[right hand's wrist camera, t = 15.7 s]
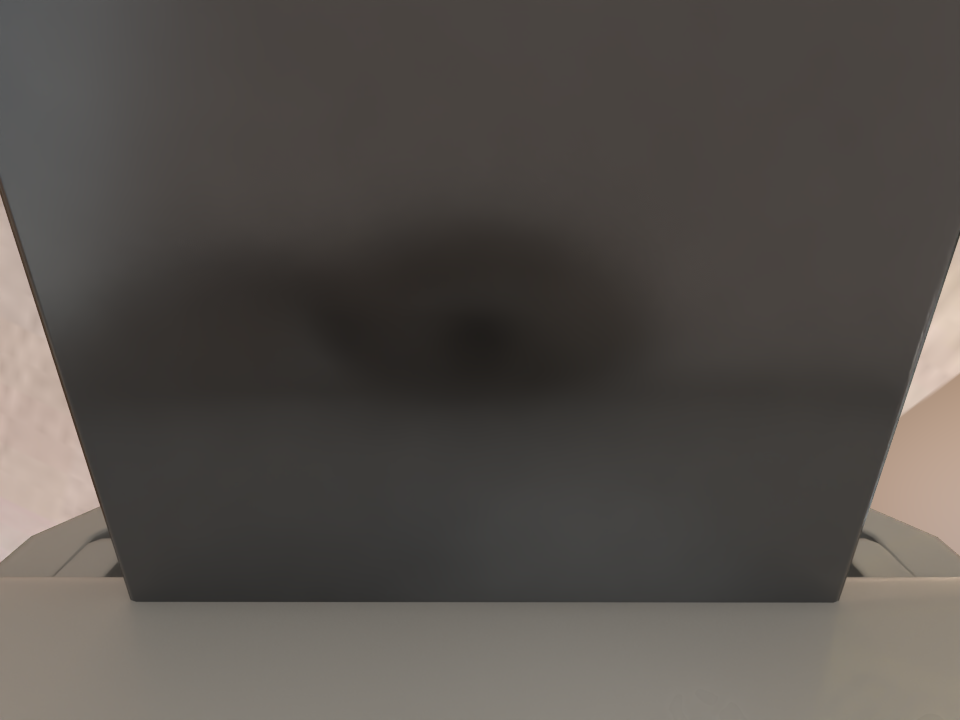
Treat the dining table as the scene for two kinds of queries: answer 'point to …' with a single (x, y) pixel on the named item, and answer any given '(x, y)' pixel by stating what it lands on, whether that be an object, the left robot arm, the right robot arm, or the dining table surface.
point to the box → (483, 285)
